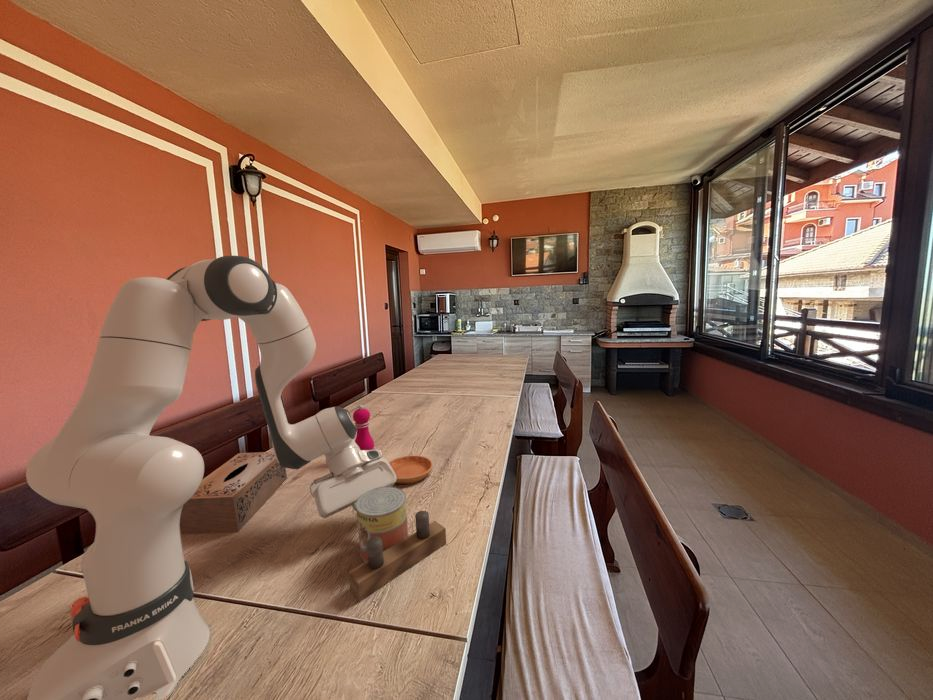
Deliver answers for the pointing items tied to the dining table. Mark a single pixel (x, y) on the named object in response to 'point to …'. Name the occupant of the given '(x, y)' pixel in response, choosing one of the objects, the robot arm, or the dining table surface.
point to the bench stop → (396, 556)
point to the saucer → (411, 468)
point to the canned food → (381, 517)
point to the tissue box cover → (232, 494)
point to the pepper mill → (363, 429)
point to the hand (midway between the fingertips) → (370, 516)
